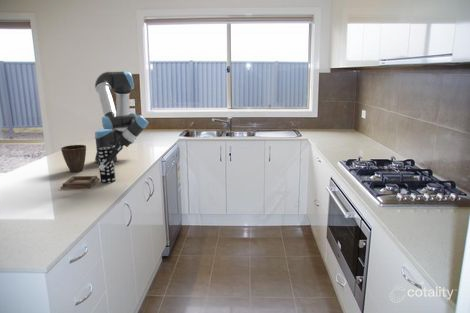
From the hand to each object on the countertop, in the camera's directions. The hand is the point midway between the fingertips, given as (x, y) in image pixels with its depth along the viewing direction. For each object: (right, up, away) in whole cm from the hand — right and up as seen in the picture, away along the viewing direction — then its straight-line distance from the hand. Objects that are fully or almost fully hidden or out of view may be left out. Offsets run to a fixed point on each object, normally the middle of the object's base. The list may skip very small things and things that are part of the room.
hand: (100, 166), depth 207 cm
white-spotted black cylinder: (+3, -9, +3) cm, 10 cm away
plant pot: (-26, -4, +26) cm, 36 cm away
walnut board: (-11, -10, -2) cm, 15 cm away
